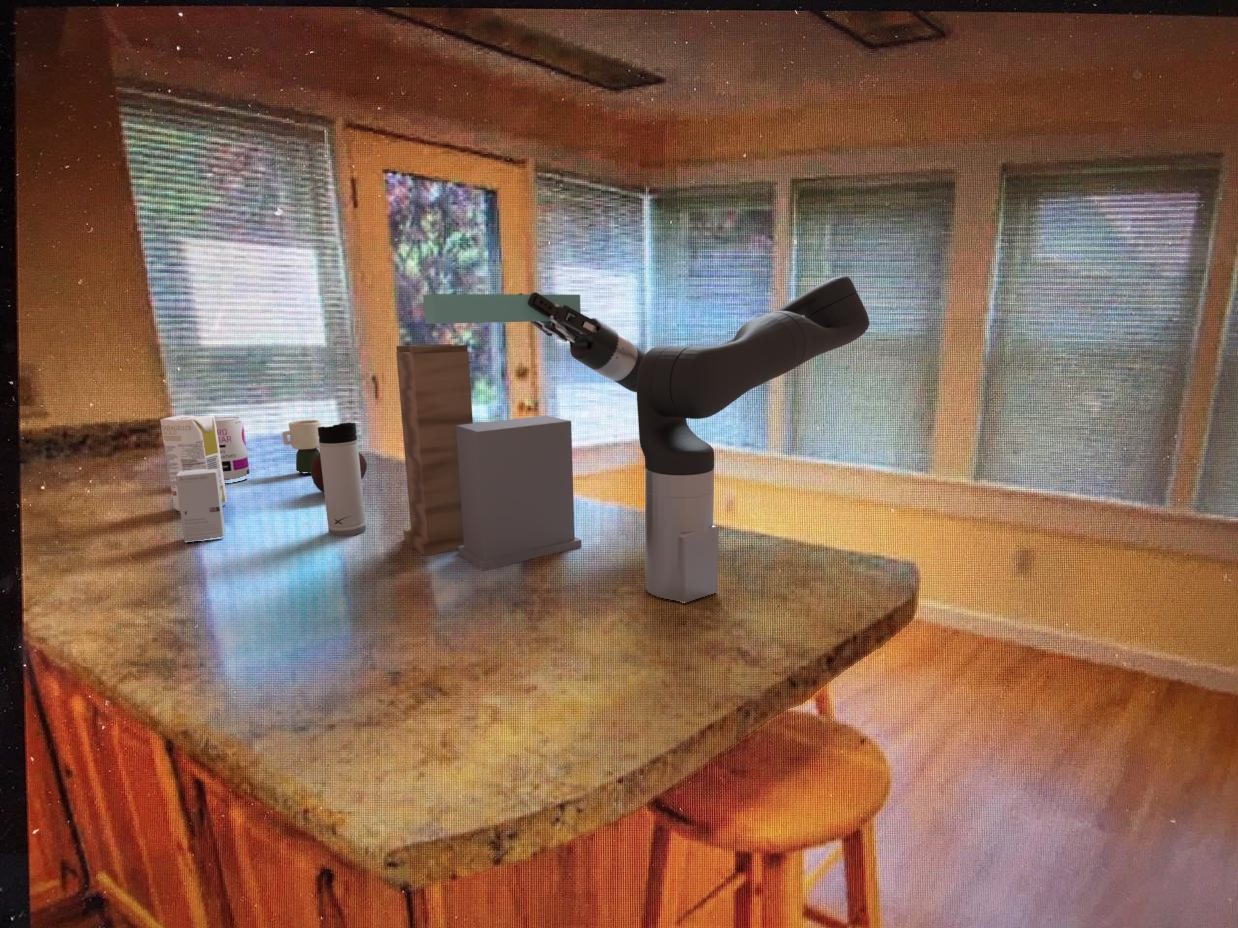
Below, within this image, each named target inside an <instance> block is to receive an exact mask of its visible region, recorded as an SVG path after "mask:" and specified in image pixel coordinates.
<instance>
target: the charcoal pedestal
mask: <svg viewBox="0 0 1238 928" xmlns="http://www.w3.org/2000/svg"><path fill="white" fill-rule="evenodd" d="M456 432H457V448H458V463H459V478H460V493H461V508H462V523H463V538H464V545H462V546H457V547H458V549H457V554H458V555H460V556H461V557H462V558H463V559H465V560H466V561H468V562H470V563H471V565H472V564H473V565H474V566H476V567H477V568H478V569H479V570H481V571H482V572H483V571H487V570H488V571H489V570H492V569H496V568H499V567H504V566H509V565H512V564H516V563H520V562H524V561H529V560H532V559H533V560H534V559H537V558H542V557H545V556H550V555H554V554H557V553H561V552H565V551H569V550H574V549H577V548H578V549H579V548H581V547H582V539H580V538H578V537H577V536H575V534H576V533H575V506H574V505H575V504H574V499H575V498H574V473H573V472H574V471H573V441H572V439H573V438H572V432H573V431H572V420H568V419H563V418H559V417H554V416H551V415H539V416H538V415H537V416H530V417H520V418H513V419H512V418H511V419H505V420H504V419H503V420H494V421H484V422H477V423H476V422H475V423H474V422H473V424H464V425H456Z"/></svg>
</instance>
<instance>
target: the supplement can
mask: <svg viewBox="0 0 1238 928" xmlns="http://www.w3.org/2000/svg"><path fill="white" fill-rule="evenodd" d="M214 418H215V423H216V428H217V434H218V441H219V448H220V455H221V462H222V469H223V476H224V480H230V479H236V478H240V477H243V476H246V475H247V474H249V473H250V474H251V472H250V465H249V457H248V451H247V443H246V436H245V427H244V423H243V421H242V420H241V419H240V417H239V416H220V417H214Z"/></svg>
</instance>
